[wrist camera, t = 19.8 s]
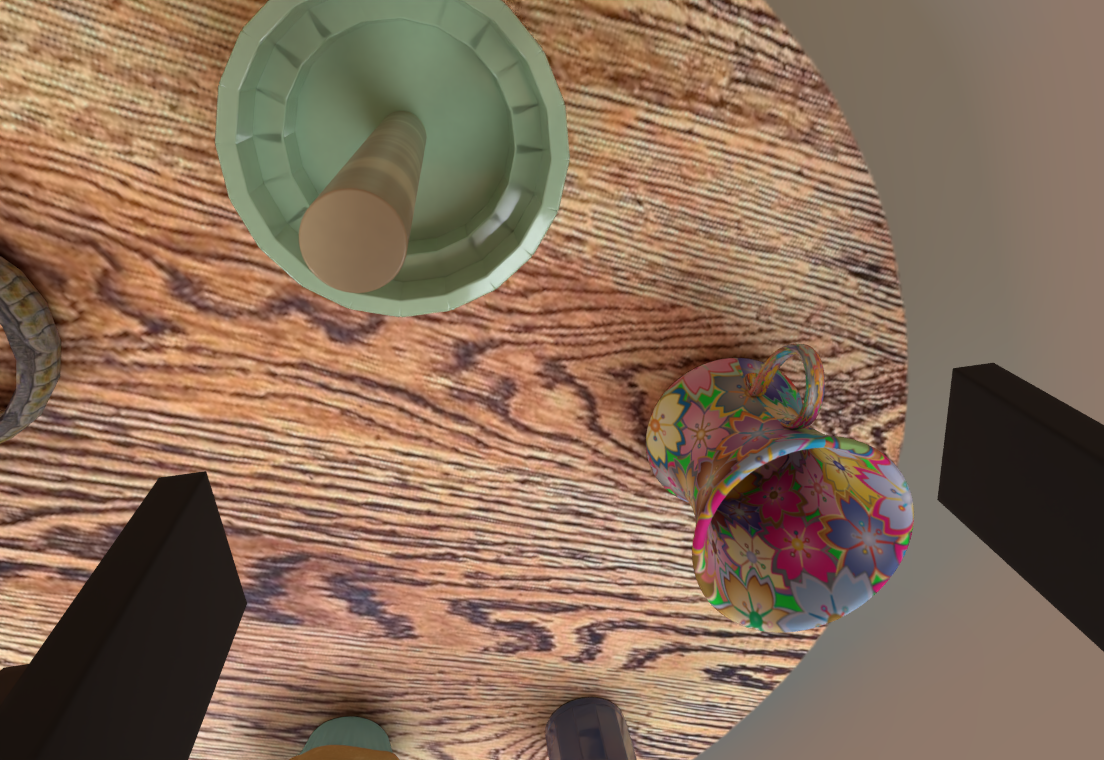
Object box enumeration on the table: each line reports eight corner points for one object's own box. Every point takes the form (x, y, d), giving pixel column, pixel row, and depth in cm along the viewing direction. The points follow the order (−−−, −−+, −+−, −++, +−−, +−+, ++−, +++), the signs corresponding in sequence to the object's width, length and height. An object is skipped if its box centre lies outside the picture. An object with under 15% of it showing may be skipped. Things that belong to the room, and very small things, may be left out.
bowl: (532, -42, 31) (551, -61, 26) (560, 257, 36) (581, 294, 31) (219, -12, 30) (170, -25, 25) (292, 291, 35) (264, 335, 30)
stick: (422, 108, 33) (397, 182, 14) (430, 157, 33) (415, 286, 15) (374, 113, 32) (286, 194, 14) (383, 162, 33) (311, 300, 15)
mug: (789, 499, 43) (889, 628, 34) (627, 505, 42) (682, 640, 33) (827, 292, 39) (955, 372, 29) (646, 291, 38) (717, 375, 28)
